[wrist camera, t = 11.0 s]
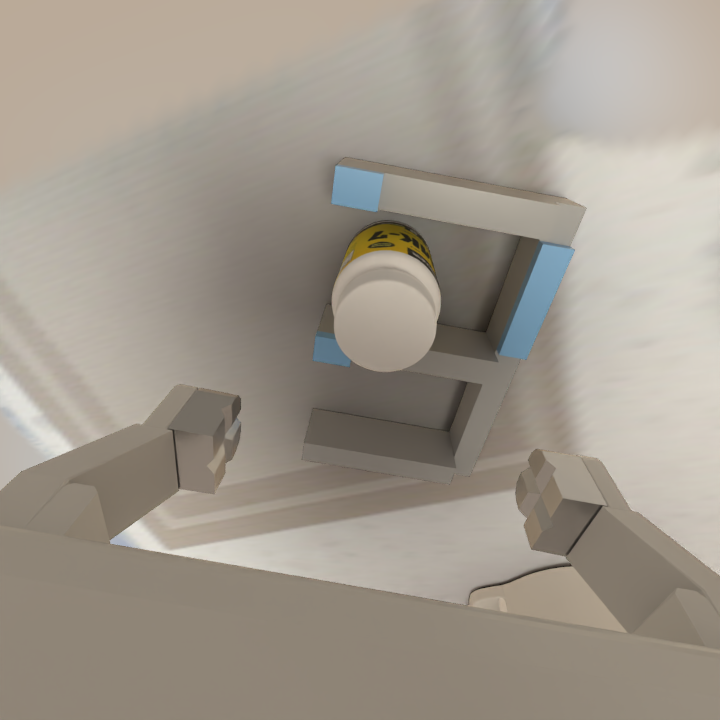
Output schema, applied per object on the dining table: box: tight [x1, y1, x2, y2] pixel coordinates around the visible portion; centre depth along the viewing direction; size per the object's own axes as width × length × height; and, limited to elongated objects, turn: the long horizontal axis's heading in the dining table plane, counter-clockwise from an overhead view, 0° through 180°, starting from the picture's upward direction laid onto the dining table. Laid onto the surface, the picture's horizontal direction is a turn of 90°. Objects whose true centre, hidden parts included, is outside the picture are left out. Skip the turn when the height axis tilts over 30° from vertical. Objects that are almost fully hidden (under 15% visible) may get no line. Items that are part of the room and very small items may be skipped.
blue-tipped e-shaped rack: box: [302, 157, 587, 485], centre depth 23 cm, size 18×11×4 cm, turn 171°
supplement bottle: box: [332, 221, 441, 372], centre depth 19 cm, size 5×5×8 cm
